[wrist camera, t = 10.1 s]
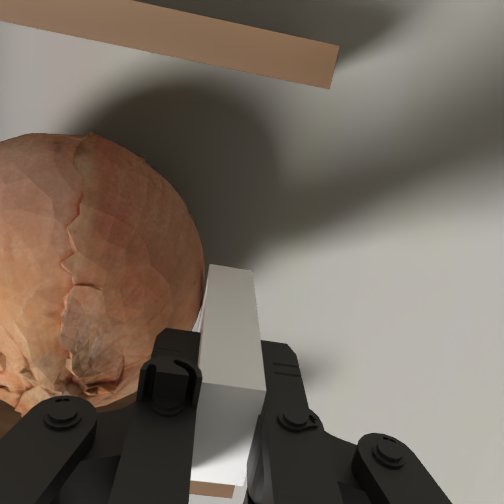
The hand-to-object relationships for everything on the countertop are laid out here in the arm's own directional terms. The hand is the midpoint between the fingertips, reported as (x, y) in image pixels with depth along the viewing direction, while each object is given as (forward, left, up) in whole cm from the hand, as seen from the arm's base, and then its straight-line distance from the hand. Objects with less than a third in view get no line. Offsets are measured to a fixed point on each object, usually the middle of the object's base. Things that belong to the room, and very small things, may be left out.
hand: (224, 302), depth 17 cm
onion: (0, -5, -5) cm, 7 cm away
